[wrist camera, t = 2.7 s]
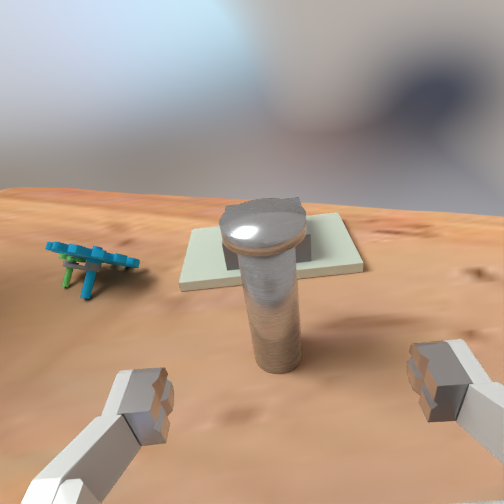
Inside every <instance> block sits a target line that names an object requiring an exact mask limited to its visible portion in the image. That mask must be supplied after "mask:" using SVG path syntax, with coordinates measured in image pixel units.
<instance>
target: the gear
mask: <svg viewBox="0 0 504 504" xmlns="http://www.w3.org/2000/svg"><path fill="white" fill-rule="evenodd" d="M46 249H47V250H50V251H52V252H56V253H60V254H59V258H61V259H66V260H67V261H64V263H63V266H64V267H67V268H66V272H65V276H64V280H63V283H62V287H69V284H70V280H71V276H72V272H73V268H74V269H81V270H87V273H86V277H85V280H84V284H83V288H82V292H81V296H80V297H81V298H87V299H90V297H91V293H92V289H93V285H94V281H95V277H96V273H97V272H100V268H101V264H102V263H107V264H112V265H121V266H125V267H135V268H138V267H139V263H140V260H138V259H134V258H127V257H128V256H125V255H121V254H110V253H107V252H106V251H104V250H102V248H101V247H97V246H93V249H89V248H85V247H83V246H79V245H74V244H69V245H67V244H64V243H60V242H53V243H52V242H47V245H46ZM70 256H72V257H70ZM76 257H77V258H76ZM76 261H78V262H83V263H85V262H86V264H85V266H82V265H79V263H76Z"/></svg>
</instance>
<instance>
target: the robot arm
mask: <svg viewBox="0 0 504 504" xmlns="http://www.w3.org/2000/svg"><path fill="white" fill-rule="evenodd" d="M409 352H410V354H411V356H412V357H411V358H410V359H409V360H408V362H407V374H408V378H409V382H410V384H411V386H412V389H413V390H414V391H415V392H417V393H418V394H419V395H420V399H419V404H420V406H421V409H422V411H423V413H424V415H425V417H426V419H427V421H428V422H444V421H456V423H458V424H459V425H460V426H461V427H462V428H463V429H464V430H465V431H467V432H468V433H469V434H470V435H471V436H472V437H473V438H474V439H476V440H477V441H478V442H479V443H480V444H481V445H482V446H483V447H485V448H486V449H487V450H488V451H489V452H490V453H491V454H492V455H494V456H495V457H496V458H497V459H498V460H499V461H500V462H501V463H503V464H504V385H502V384H500V383H499V382H492V380H491V379H490V377H489V376H488V374H487V373H486V371H485V370H484V369H483V367H482V366H481V364H480V363H479V361H478V360H477V359H476V357H475V356H474V354H473V353H472V351H471V350H470V349H469V347H468V346H467V344H466V343H465V341H463V340H462V339H455V340H445V341H443V340H441V341H432V342H422V343H413V344H412V345H411V346H410V351H409ZM167 376H168V373H167V371H166V369H165V368H149V369H134V370H123V371H119V373H118V374H117V375H116V378H115V380H114V383H113V386H112V388H111V391H110V393H109V396H108V399H107V401H106V404H105V407H104V409H103V412H102V415H101V416H98V417H96V418H95V419H94V420H93V421H92V422H91V423H90V424H89V425H88V426H87V427H86V428H85V429H84V430H83V431H82V432H81V433H80V434H79V435H78V436H77V437H76V438H75V439H74V440H73V441H71V442H70V443H69V444H68V445H67V446H66V447H65V448H64V449H63V450H62V451H61V452H60V453H59V454H58V455H57V456H56V457H55V458H54V459H53V460H52V461H51V462H50V463H49V464H48V465H47V466H46V467H45V468H44V469H43V470H42V471H41V472H40V473H39V474H38V475H37V476H36V477H35V478H34V479H33V480H32V482H31V484H30V486H29V488H28V490H27V492H26V494H25V496H24V498H23V500H22V503H21V504H101V503H102V501H103V500H104V499H105V497H106V496H107V495H108V493H109V492H110V490H111V489H112V488H113V486H114V485H115V483H116V482H117V481H118V479H119V478H120V476H121V475H122V474H123V472H124V471H125V469H126V468H127V467H128V465H129V464H130V462H131V461H132V460H133V458H134V457H135V455H136V454H137V453H138V451H139V450H140V448H141V447H140V446H147V445H156V444H165V443H166V442H167V437H168V432H169V427H170V422H169V420H168V415H169V414H170V413H171V412H172V411H173V405H174V389H173V385H172V383H171V382H170V381H169V380H167ZM451 504H504V500H496V501H481V502H466V503H451Z"/></svg>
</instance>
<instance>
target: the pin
mask: <svg viewBox="0 0 504 504" xmlns="http://www.w3.org/2000/svg"><path fill="white" fill-rule="evenodd" d="M219 225H220V230H221V236H222V241H223V244H224V245H225V246H226V248H228V249H229V250H230V251H232V252H234V253H237V256H238V262H239V268H240V273H241V279H242V285H243V291H244V297H245V302H246V308H247V314H248V320H249V325H250V331H251V337H252V343H253V348H254V354H255V359H256V362H257V364H258V366H259V367H260V368H261V369H263V370H264V371H266V372H269V373H273V374H282V373H286V372H289V371H291V370H293V369H294V368H295V367H297V365H298V364H299V363H300V361H301V358H302V347H301V331H300V315H299V299H298V284H297V268H296V252H295V246H297V245H298V244H299V243H301V242H302V240H303V239H304V238H305V236H306V231H307V230H306V212H305V210H304V208H303V207H302V206H300V205H299V204H297V203H295V202H293V201H290V200H285V199H278V198H264V199H256V200H251V201H247V202H244V203H241V204H238V205H236V206H234V207H232V208H230V209H229V210H227V211H226V212H225V213H224V214H223V215H222V216H221V218H220V221H219Z"/></svg>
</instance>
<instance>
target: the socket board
mask: <svg viewBox="0 0 504 504" xmlns="http://www.w3.org/2000/svg"><path fill="white" fill-rule="evenodd" d="M285 200H290V201H293V202H295V203H297V204H299V205H300V206H301V203H300V199H299V197H296V198H288V199H285ZM237 205H238V204H237ZM234 206H236V205H229V206H226V209H225V212H226V211H227V210H229V209H230V208H232V207H234ZM306 230H307V231H306V236H305V238H304V239H303V240H302V242H301V243H299V244H298V245H297V246H295V252H296V268H297V279H301V278H311V277H320V276H329V275H339V274H348V273H357V272H363V261H362V259H361V257H360V255H359V253H358V251H357V249H356V247H355V245H354V243H353V241H352V239H351V237H350V235H349V233H348V231H347V229H346V227H345V225H344V223H343V221H342V219H341V217H340V215H339V213H338V212H336V213H328V214H319V215H310V216H306ZM236 285H242V279H241V273H240V268H239V262H238V256H237V253H234V252H232V251H230V250H229V249H228V248H226V246H225V245H224V244H223V241H222V236H221V230H220V226H216V227H207V228H199V229H192V233H191V237H190V240H189V244H188V248H187V252H186V256H185V260H184V264H183V268H182V271H181V275H180V279H179V286H180V290H181V291H190V290H199V289H208V288H218V287H227V286H236Z"/></svg>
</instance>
